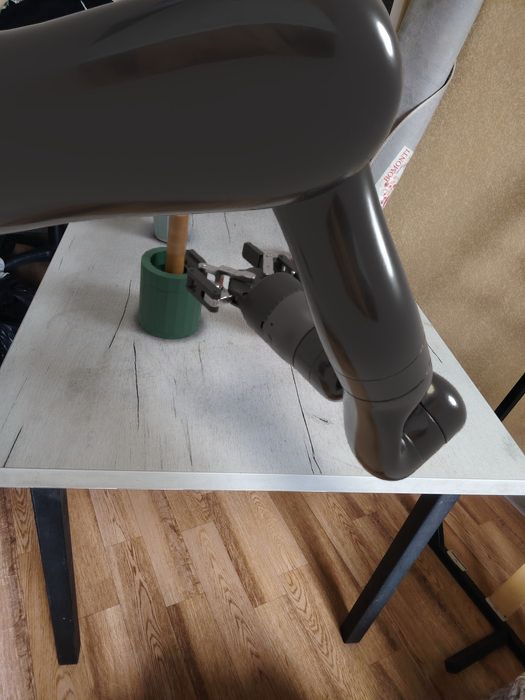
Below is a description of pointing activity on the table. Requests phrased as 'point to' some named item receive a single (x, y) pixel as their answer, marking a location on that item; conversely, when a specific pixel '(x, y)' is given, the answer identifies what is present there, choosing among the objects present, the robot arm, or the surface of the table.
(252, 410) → the table surface
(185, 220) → the brown and grey cylinder
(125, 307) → the table surface
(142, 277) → the green cup
